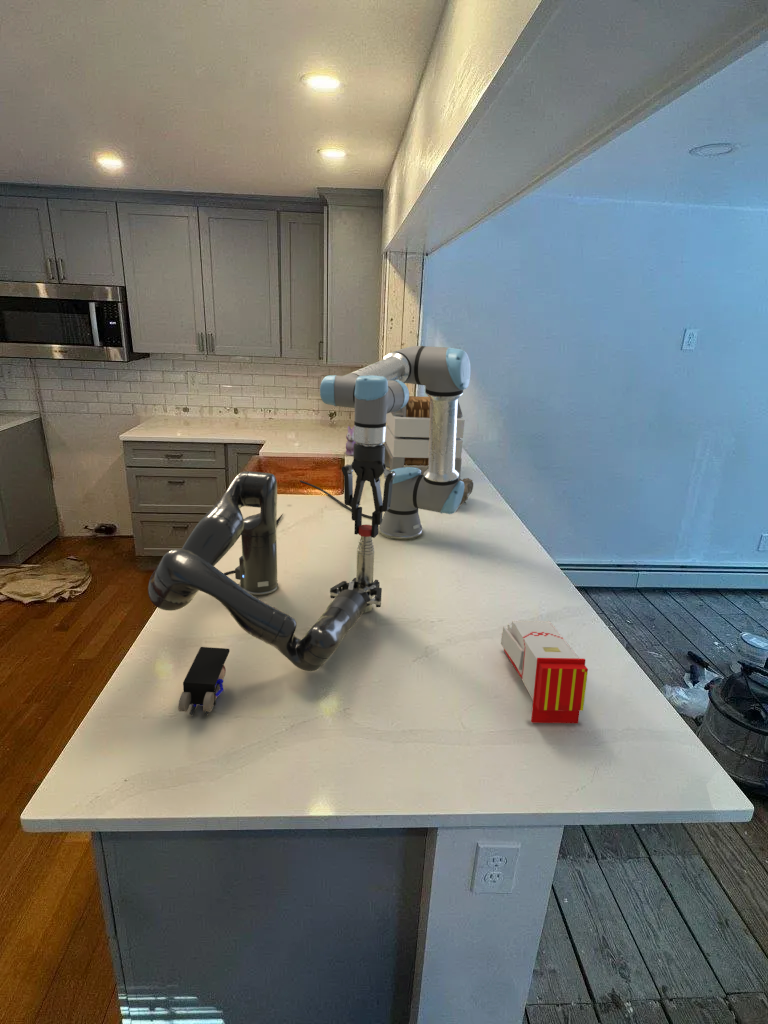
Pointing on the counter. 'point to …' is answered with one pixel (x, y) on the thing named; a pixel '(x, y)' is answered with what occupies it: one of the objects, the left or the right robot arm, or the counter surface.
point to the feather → (278, 519)
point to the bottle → (365, 565)
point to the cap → (365, 530)
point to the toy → (547, 670)
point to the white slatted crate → (415, 435)
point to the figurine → (350, 441)
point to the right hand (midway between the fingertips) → (366, 534)
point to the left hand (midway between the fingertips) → (368, 581)
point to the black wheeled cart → (204, 680)
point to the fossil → (466, 489)
